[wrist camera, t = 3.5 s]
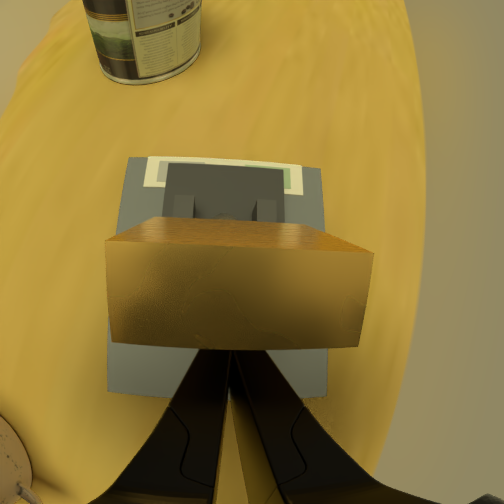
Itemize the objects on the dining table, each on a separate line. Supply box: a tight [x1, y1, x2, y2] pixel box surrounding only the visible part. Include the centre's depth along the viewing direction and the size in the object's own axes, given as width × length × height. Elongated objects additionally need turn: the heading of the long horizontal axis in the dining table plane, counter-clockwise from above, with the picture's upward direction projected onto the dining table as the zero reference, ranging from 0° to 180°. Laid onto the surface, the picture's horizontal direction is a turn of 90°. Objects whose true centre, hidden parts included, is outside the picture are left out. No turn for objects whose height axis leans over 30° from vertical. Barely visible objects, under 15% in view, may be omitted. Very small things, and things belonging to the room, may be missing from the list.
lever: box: [105, 213, 374, 350], centre depth 12 cm, size 2×5×12 cm, turn 89°
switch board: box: [107, 156, 328, 400], centre depth 18 cm, size 16×14×6 cm
